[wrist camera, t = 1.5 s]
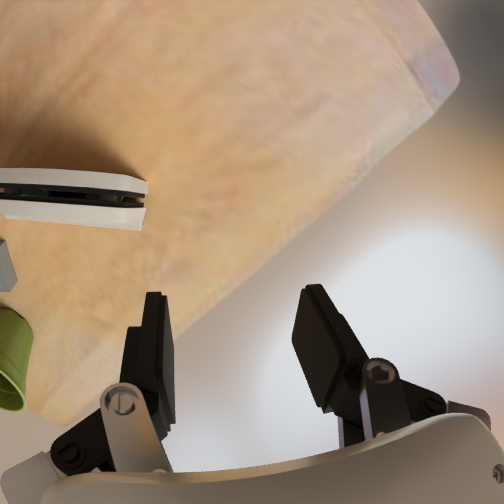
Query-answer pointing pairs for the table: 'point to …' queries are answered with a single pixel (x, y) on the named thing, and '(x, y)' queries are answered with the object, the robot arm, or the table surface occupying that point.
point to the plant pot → (13, 360)
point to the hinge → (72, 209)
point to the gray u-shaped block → (6, 269)
